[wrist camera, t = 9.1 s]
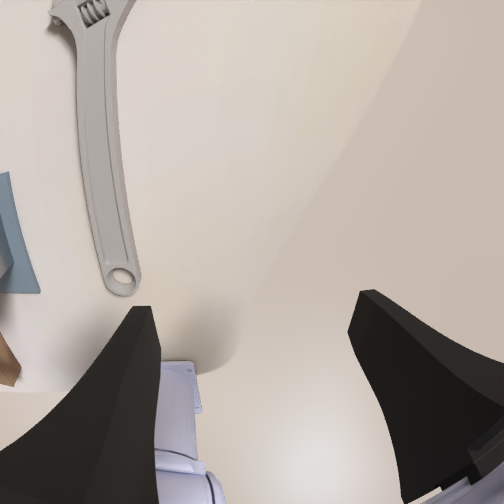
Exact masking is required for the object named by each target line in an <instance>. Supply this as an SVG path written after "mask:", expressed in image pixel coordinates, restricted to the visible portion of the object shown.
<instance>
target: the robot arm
mask: <svg viewBox="0 0 504 504" xmlns="http://www.w3.org/2000/svg"><path fill="white" fill-rule="evenodd" d="M348 335H349V338H350V341H351V344H352V347H353V350H354V352H355V355H356V357H357V359H358V361H359V363H360V365H361V367H362V369H363V371H364V373H365V375H366V377H367V379H368V381H369V383H370V385H371V387H372V389H373V391H374V393H375V395H376V397H377V399H378V402H379V404H380V406H381V409H382V411H383V414H384V417H385V420H386V423H387V426H388V429H389V433H390V436H391V440H392V444H393V447H394V452H395V457H396V461H397V467H398V472H399V480H400V489H401V497H402V500H403V502H404V504H408V503H410V502H412V501H414V500H416V499H418V498H420V497H422V496H424V495H425V494H427V493H429V492H431V491H433V490H434V489H436V488H438V487H441V489H442V492H440V493H439V494H437V495H435V496H434V497H432V498H430V499H428V500H427V501H425V502H423V503H421V504H504V363H501V362H498V361H495V360H493V359H490V358H488V357H485V356H483V355H481V354H478V353H476V352H474V351H472V350H470V349H468V348H466V347H464V346H462V345H460V344H458V343H456V342H454V341H453V340H451V339H449V338H447V337H446V336H444V335H442V334H441V333H439V332H437V331H436V330H435V329H433V328H431V327H430V326H428V325H427V324H425V323H424V322H422V321H420V320H419V319H418V318H416V317H415V316H413V315H412V314H411V313H409V312H408V311H406V310H405V309H403V308H402V307H401V306H399V305H397V304H396V303H395V302H393V301H392V300H390V299H389V298H387V297H386V296H384V295H383V294H381V293H380V292H378V291H376V290H374V289H373V290H365V291H360V293H359V296H358V300H357V303H356V306H355V310H354V313H353V316H352V319H351V322H350V326H349V329H348ZM200 413H202V407H201V402H200V397H199V391H198V385H197V379H196V373H195V367H194V363H193V362H191V361H161V347H160V343H159V339H158V335H157V331H156V327H155V322H154V318H153V314H152V309H151V306H133V307H132V308H131V309H130V311H129V312H128V313H127V315H126V316H125V318H124V320H123V321H122V323H121V324H120V326H119V327H118V329H117V330H116V332H115V333H114V334H113V336H112V337H111V339H110V340H109V342H108V343H107V344H106V346H105V347H104V349H103V350H102V352H101V353H100V354H99V356H98V357H97V358H96V360H95V361H94V362H93V364H92V365H91V366H90V368H89V369H88V370H87V372H86V373H85V374H84V375H83V377H82V378H81V379H80V380H79V381H78V383H77V384H76V385H75V386H74V387H73V388H72V389H71V391H70V392H69V393H68V394H67V395H66V396H65V397H64V398H63V399H62V400H61V401H60V403H58V404H57V405H56V406H55V407H54V409H52V410H51V411H50V412H49V413H48V414H47V415H46V416H45V417H44V418H43V419H42V420H41V421H40V422H38V424H36V425H35V426H34V427H33V428H31V429H30V430H29V431H28V432H26V433H25V434H24V435H23V436H21V437H20V438H19V439H17V440H16V441H15V442H13V443H12V444H10V445H9V446H7V447H6V448H4V449H3V450H1V451H0V504H225V496H224V492H223V488H222V486H221V484H220V482H219V481H218V479H217V478H216V477H215V476H214V475H213V474H212V473H211V472H208V471H205V463H204V462H201V461H198V457H197V443H196V427H195V414H200Z"/></svg>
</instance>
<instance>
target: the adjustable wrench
mask: <svg viewBox="0 0 504 504" xmlns="http://www.w3.org/2000/svg"><path fill="white" fill-rule="evenodd" d="M135 1H136V0H54V1H53V7H54V8H52V9H51V10H50V11H48V13H49V15H51V16H53V17H54V18H53V21H54V23H55V25H57V26H60V25H61V24H62V23H64V22H65V24H66V25H67V26H68V27H69V29H70V30H71V31H72V33H73V36H74V38H75V42H76V47H77V116H78V132H79V144H80V155H81V164H82V172H83V179H84V186H85V193H86V199H87V205H88V211H89V216H90V221H91V226H92V231H93V236H94V241H95V245H96V250H97V254H98V258H99V262H100V266H101V270H102V274H103V278H104V281H105V284H106V286H107V287H108V288H109V289H110V291H112V292H113V293H115V294H118V295H121V296H127V295H131V294H133V293H135V292H136V290H137V289H138V286H139V283H140V279H141V270H140V266H139V261H138V256H137V252H136V247H135V242H134V236H133V231H132V225H131V220H130V214H129V208H128V201H127V195H126V188H125V180H124V173H123V164H122V155H121V146H120V135H119V122H118V106H117V80H116V50H117V42H118V38H119V35H120V32H121V29H122V27H123V25H124V22H125V20H126V18H127V16H128V14H129V12H130V10H131V8H132V7H133V5H134V3H135ZM108 13H109V14H110V15H109V16H108ZM102 17H103V18H104V19H102ZM96 20H97V21H98V22H97V21H96ZM89 24H92V26H89ZM115 268H124V269H126V270H128V271H130V272H131V273H132V274H133V275H134V280H133V282H131V283H129V284H123V283H120V282H118V281H117V280H116V279H115V278H114V277H113V270H114V269H115Z"/></svg>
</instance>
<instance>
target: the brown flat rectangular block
mask: <svg viewBox="0 0 504 504" xmlns="http://www.w3.org/2000/svg"><path fill="white" fill-rule="evenodd" d="M20 369H21V366H20V364H19V363H18V361H17V360H16V358H15V357H14V355H13V353H12V352H11V350H10V348H9V347H8V345H7V343H6V342H5V340H4V338H3V337H2V335H1V333H0V384H3V385H8V386H12V387H14V384H15V382H16V379H17V377H18V374H19V372H20Z"/></svg>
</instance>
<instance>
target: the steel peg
mask: <svg viewBox="0 0 504 504" xmlns="http://www.w3.org/2000/svg"><path fill="white" fill-rule="evenodd" d="M13 262H14V259H13V256H12V253H11V250H10V247H9V244H8V240H7V237H6V233H5V230H4V226H3V222H2V218H1V214H0V278H1V277H2V275H3V274H4V273H5V272H6V271H7V269H8V268H9V267H10V266H11V264H12V263H13Z"/></svg>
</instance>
